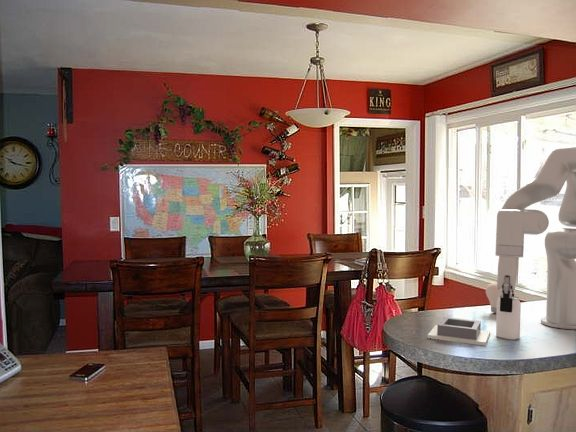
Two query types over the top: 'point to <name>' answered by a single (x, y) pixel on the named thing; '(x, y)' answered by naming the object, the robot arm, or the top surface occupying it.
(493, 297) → the light bulb
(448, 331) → the socket board
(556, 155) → the robot arm
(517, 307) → the can
